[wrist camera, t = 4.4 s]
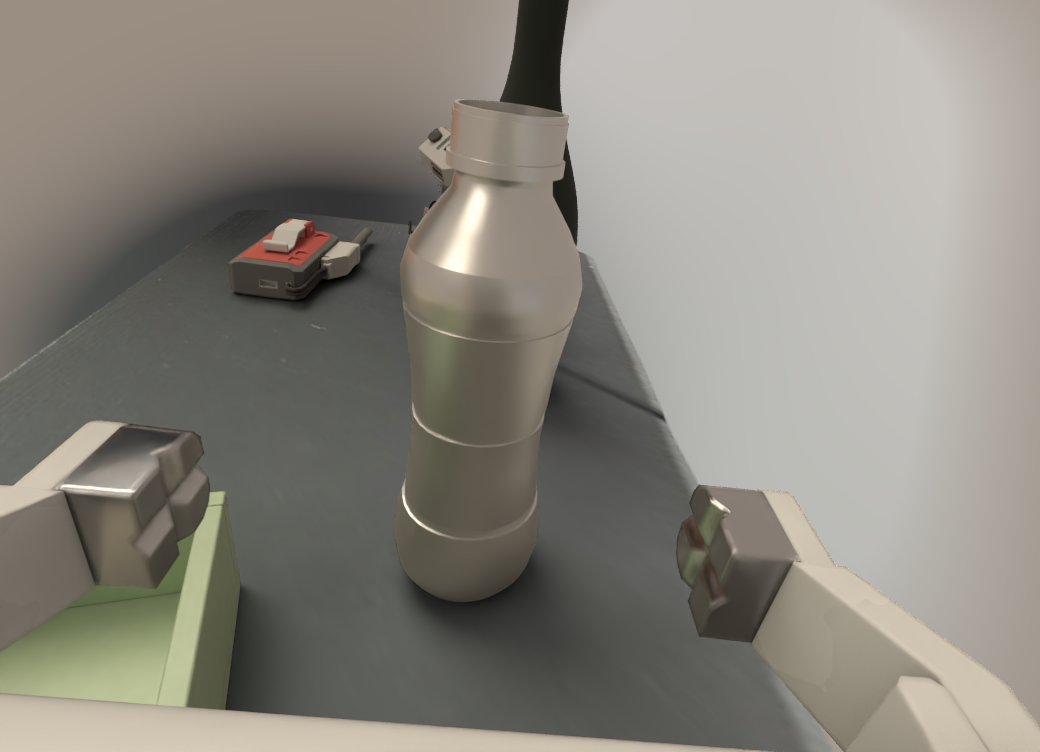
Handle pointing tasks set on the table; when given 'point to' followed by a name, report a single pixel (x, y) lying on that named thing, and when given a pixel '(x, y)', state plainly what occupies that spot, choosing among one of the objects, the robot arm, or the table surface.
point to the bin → (143, 633)
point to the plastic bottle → (484, 349)
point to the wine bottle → (543, 81)
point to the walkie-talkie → (293, 261)
